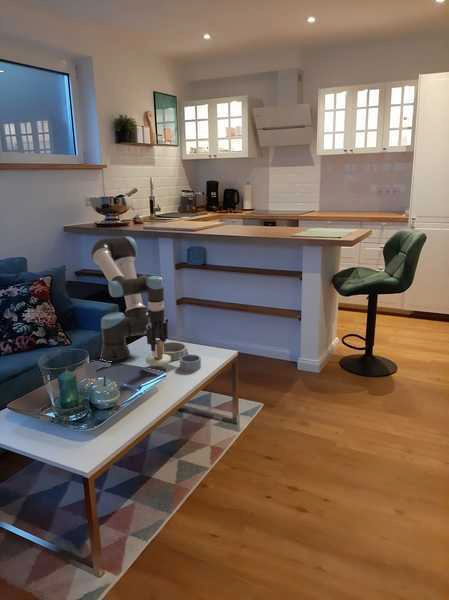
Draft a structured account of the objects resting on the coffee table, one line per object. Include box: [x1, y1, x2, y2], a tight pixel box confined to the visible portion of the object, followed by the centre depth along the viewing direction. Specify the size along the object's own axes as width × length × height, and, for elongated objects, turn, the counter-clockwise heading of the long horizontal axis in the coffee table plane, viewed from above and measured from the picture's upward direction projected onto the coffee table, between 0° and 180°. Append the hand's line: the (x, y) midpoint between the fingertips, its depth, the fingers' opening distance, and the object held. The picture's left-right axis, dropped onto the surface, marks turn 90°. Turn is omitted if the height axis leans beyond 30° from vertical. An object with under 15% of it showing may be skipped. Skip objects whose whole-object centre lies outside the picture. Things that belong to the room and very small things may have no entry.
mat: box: [145, 363, 179, 374], centre depth 234 cm, size 13×13×1 cm
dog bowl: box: [164, 341, 189, 362], centre depth 251 cm, size 17×18×5 cm
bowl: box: [179, 354, 202, 372], centre depth 234 cm, size 10×10×6 cm
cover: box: [145, 339, 172, 366], centre depth 232 cm, size 12×12×10 cm
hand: (158, 355), depth 232 cm, fingers closed on cover, 4 cm apart
